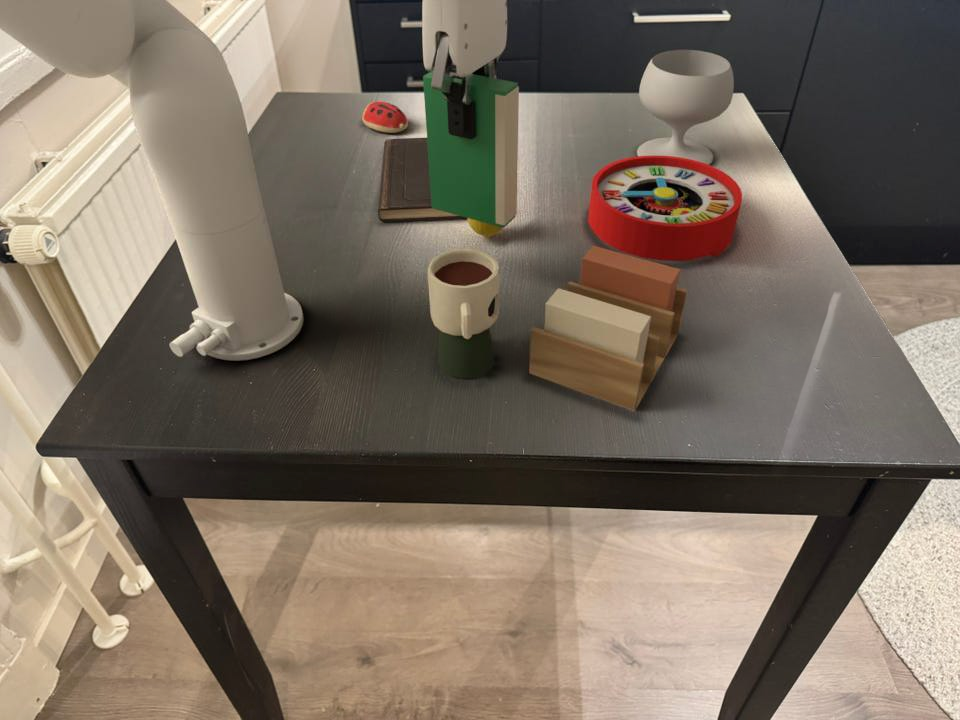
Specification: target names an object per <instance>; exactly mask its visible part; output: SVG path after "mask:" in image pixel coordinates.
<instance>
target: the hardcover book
mask: <svg viewBox="0 0 960 720" xmlns="http://www.w3.org/2000/svg"><path fill="white" fill-rule="evenodd" d="M381 166H382V167H381V177H380V187H379V197H378V210H377V211H378V212H377V216H378V220H379V221H380V222H382V223H400V222H401V223H402V222H422V221H423V222H425V221H446V220H448V221H449V220H468V219H467V218H466V217H462V216H458V215H455V214H451V213H448V212H444V211H440V210H437V209H433V208H432V201H431V186H430V172H429V157H428V143H427V137H408V138H407V137H405V138H404V137H403V138H387V139H386V140H385V141H384V144H383V154H382V164H381Z"/></svg>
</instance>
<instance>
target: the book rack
mask: <svg viewBox="0 0 960 720" xmlns="http://www.w3.org/2000/svg"><path fill="white" fill-rule="evenodd" d="M566 291H569V292H573V293H576V294H579V295H582V296H586V297H589V298H592V299H596V300H599V301H602V302H605V303H609V304H612V305H615V306H619V307H622V308H625V309H628V310H632V311H635V312H638V313H642V314H645V315H648V316H651V321H650V326H649V332H648V338H647V343H646V349H645V354H644V360H643V363H641V362H638V361H635V360H632V359H629V358H626V357H623V356H620V355H617V354H614V353H611V352H608V351H605V350H602V349H599V348H596V347H593V346H590V345H587V344H584V343H581V342H578V341H575V340H572V339H569V338H566V337H563V336H560V335H557V334H554V333H551V332H548V331H545V330H544V329H541V328H538V327H535V326H532V327H531V328H530V344H529V364H528V365H529V367H528V371H529V372H528V374H529V375H532V376H535V377H537V378H541V379H544V380H546V381H549V382H552V383H554V384H557V385H560V386H563V387H566V388H569V389H571V390H573V391H577V392H580V393H582V394H585V395H588V396H591V397H593V398H597V399H599V400H602V401H605V402H608V403H610V404H613V405H616V406H619V407H621V408H625V409H627V410H630V411H632V412H635V411H636V410H637V409H638V406H639V404H640V403H641V401H642V400H643V397H644V396H645V394H646V392H647V391H648V388H649V387H650V385H651V383H652V382H653V380H654V378H655V376H656V374H657V373H658V371H659V369H660V367H661V365H662V364H663V362H664V360H665V358H666V356H667V355H668V353H669V351H670V350H671V348H672V346H673V345H674V343H675V341H676V339H677V337H678V335H679V333H680V329H681V324H682V320H683V316H684V311H685V306H686V301H687V297H688V293H689V292H688V291H689V289H687V288H683V287H679V286H677V290H676V295H675V300H674V305H673V310H672V312H671V311H668V310H665V309H661V308H658V307H654V306H651V305H648V304H644V303H641V302H638V301H634V300H631V299H628V298H624V297H621V296H618V295H614V294H611V293H608V292H604V291H601V290H597V289H594V288H591V287H587V286H584V285H581V284H580V283H577V282H573V281H569V282H568V283H567V290H566Z"/></svg>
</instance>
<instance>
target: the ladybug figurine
mask: <svg viewBox="0 0 960 720" xmlns="http://www.w3.org/2000/svg"><path fill="white" fill-rule="evenodd" d="M361 119H362V122H363V124H364V125H365V126H366V127H367V128H369V129H371V130H373V131H377V132H381V133H386V134H396V133H401V132H403V131H404V130H407V128H408V126H409V121H408V118H407V116H406V115H405V113H404V112H403V110H402V109H400V107H398V106H397V105H394V104H391V102H385V101H372V102H370V103H368V105H366V107H365V108H364V110H363V113H362V117H361Z"/></svg>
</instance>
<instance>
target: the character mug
mask: <svg viewBox="0 0 960 720" xmlns="http://www.w3.org/2000/svg"><path fill="white" fill-rule="evenodd" d="M499 277H500V266H499V263H498V261H497V259H495V257H493V256H492V255H490V254H488V253H487V252H484V251H481V250H477V249H472V248H456V249H451V250H447V251H444V252H443V253H439V254H437V255H436V256H435V257H433V258H432V260H430V262H429V264H428V267H427V282H428V283H427V284H428V296H429V297H428V298H429V311H430V318H431V321H432V323H433V325H434V327H436V328H437V329H438V330H439V331H440V332H439V339H438V351H437V352H438V353H437V354H438V355H437V361H438V367H439V368H440V370H441V372H443V374H445V375H447V376H449V377H453V378H457V379H467V380H469V379H477V378H480V377H483V376H484V375H486V374H487V373H489V372H491V370H492V368H493V367H494V366H495V356H494V346H493V339H492V334H491V326H492V325H494V324H495V323H496V321H498V320H497V319H498V318H499V315H500V313H499V312H500V286H499V285H500V278H499Z"/></svg>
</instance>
